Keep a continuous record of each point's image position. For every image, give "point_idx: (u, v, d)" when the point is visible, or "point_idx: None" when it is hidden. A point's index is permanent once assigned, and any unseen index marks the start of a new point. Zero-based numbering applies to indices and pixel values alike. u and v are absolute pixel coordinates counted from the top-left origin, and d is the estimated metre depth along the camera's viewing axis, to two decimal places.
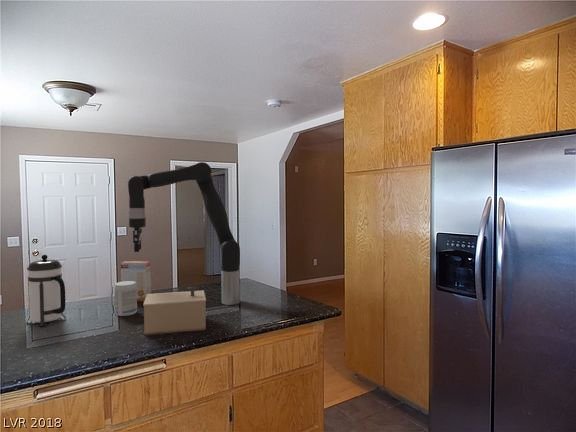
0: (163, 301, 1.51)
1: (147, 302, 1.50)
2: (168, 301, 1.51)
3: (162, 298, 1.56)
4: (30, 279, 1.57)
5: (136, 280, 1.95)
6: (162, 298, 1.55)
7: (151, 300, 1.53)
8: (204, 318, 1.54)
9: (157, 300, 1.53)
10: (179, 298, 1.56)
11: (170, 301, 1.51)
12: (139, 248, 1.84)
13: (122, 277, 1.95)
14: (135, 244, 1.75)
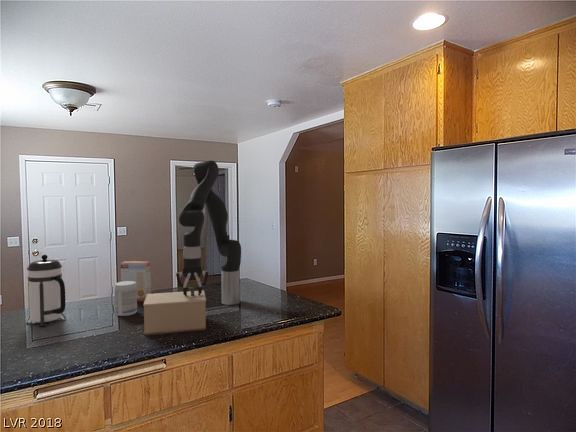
0: (163, 301, 1.51)
1: (147, 302, 1.50)
2: (168, 301, 1.51)
3: (162, 298, 1.56)
4: (30, 279, 1.57)
5: (136, 280, 1.95)
6: (162, 298, 1.55)
7: (151, 300, 1.53)
8: (204, 318, 1.54)
9: (157, 300, 1.53)
10: (179, 298, 1.56)
11: (170, 301, 1.51)
12: (186, 294, 1.60)
13: (122, 277, 1.95)
14: (201, 286, 1.61)
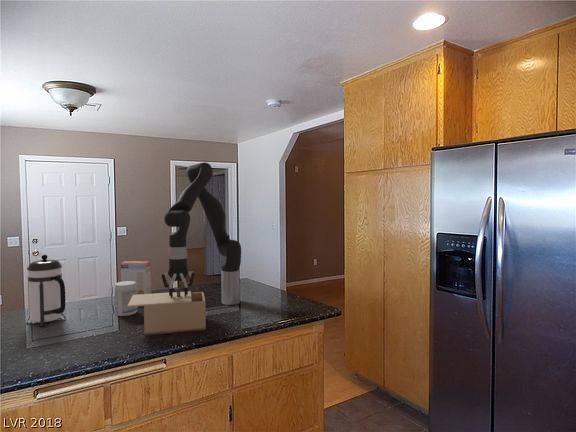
0: (148, 302, 1.50)
1: (132, 303, 1.48)
2: (153, 302, 1.50)
3: (147, 299, 1.54)
4: (30, 279, 1.57)
5: (136, 280, 1.95)
6: (148, 299, 1.53)
7: (136, 301, 1.51)
8: (204, 318, 1.54)
9: (142, 301, 1.51)
10: (165, 299, 1.54)
11: (155, 302, 1.50)
12: (172, 295, 1.58)
13: (122, 277, 1.95)
14: (187, 287, 1.59)
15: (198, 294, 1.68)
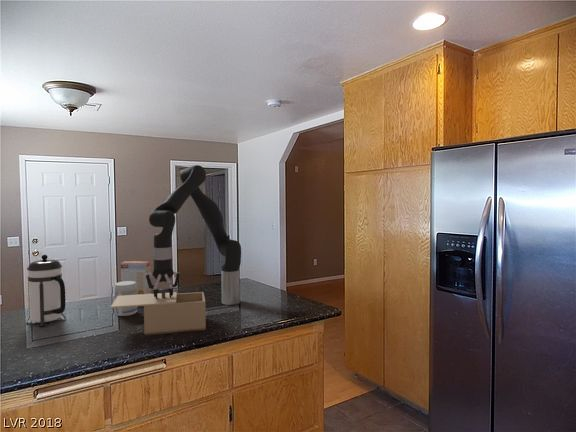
0: (132, 303, 1.48)
1: (115, 304, 1.46)
2: (137, 303, 1.48)
3: (131, 300, 1.52)
4: (30, 279, 1.57)
5: (136, 280, 1.95)
6: (132, 300, 1.52)
7: (119, 302, 1.50)
8: (204, 318, 1.54)
9: (126, 302, 1.49)
10: (149, 300, 1.52)
11: (139, 303, 1.48)
12: (157, 296, 1.57)
13: (122, 277, 1.95)
14: None
15: (198, 294, 1.68)
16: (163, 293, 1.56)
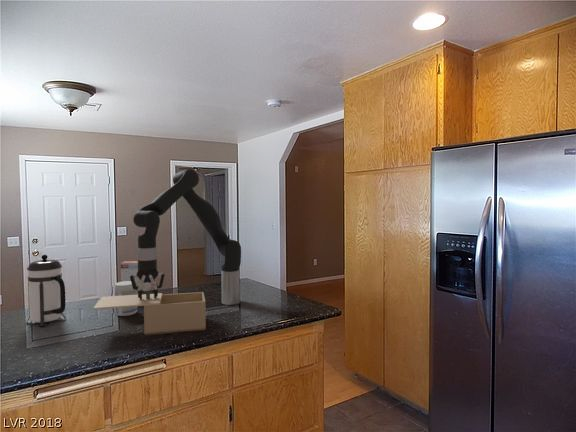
0: (115, 304, 1.46)
1: (98, 305, 1.45)
2: (120, 304, 1.46)
3: (115, 301, 1.51)
4: (30, 279, 1.57)
5: (136, 280, 1.95)
6: (115, 302, 1.50)
7: (103, 303, 1.48)
8: (204, 318, 1.54)
9: (109, 303, 1.48)
10: (133, 301, 1.51)
11: (122, 304, 1.46)
12: (141, 297, 1.55)
13: (122, 277, 1.95)
14: (157, 289, 1.56)
15: (198, 294, 1.68)
16: (148, 294, 1.54)
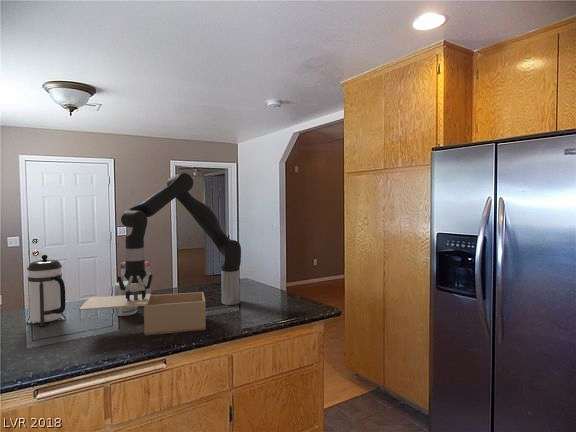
0: (102, 305, 1.45)
1: (84, 306, 1.43)
2: (107, 305, 1.45)
3: (102, 302, 1.49)
4: (30, 279, 1.57)
5: None
6: (103, 302, 1.49)
7: (89, 304, 1.47)
8: (204, 318, 1.54)
9: (96, 304, 1.46)
10: (120, 302, 1.49)
11: (109, 305, 1.45)
12: (129, 298, 1.54)
13: None
14: (145, 290, 1.54)
15: (198, 294, 1.68)
16: (135, 295, 1.53)
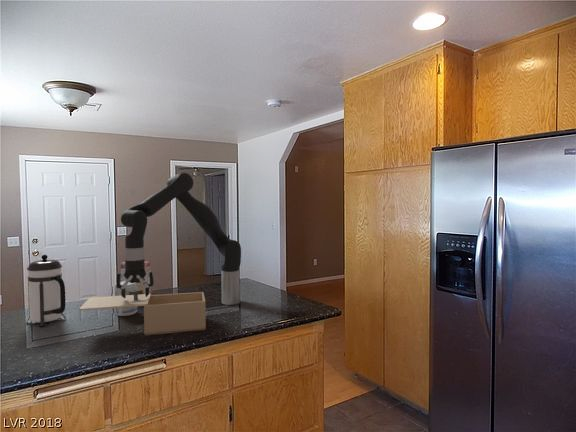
0: (102, 305, 1.45)
1: (84, 306, 1.43)
2: (107, 305, 1.45)
3: (102, 302, 1.49)
4: (30, 279, 1.57)
5: None
6: (103, 302, 1.49)
7: (89, 304, 1.47)
8: (204, 318, 1.54)
9: (96, 304, 1.46)
10: (120, 302, 1.49)
11: (109, 305, 1.45)
12: (125, 296, 1.53)
13: (122, 277, 1.95)
14: None
15: (198, 294, 1.68)
16: (135, 295, 1.53)
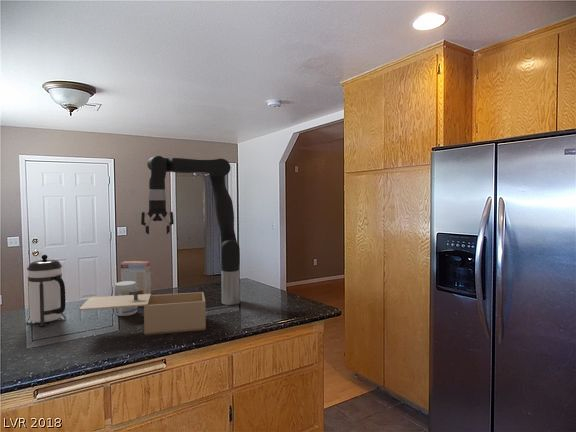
0: (102, 305, 1.45)
1: (84, 306, 1.43)
2: (107, 305, 1.45)
3: (102, 302, 1.49)
4: (30, 279, 1.57)
5: (136, 280, 1.95)
6: (103, 302, 1.49)
7: (89, 304, 1.47)
8: (204, 318, 1.54)
9: (96, 304, 1.46)
10: (120, 302, 1.49)
11: (109, 305, 1.45)
12: None
13: (122, 277, 1.95)
14: (169, 226, 1.74)
15: (198, 294, 1.68)
16: (135, 295, 1.53)
